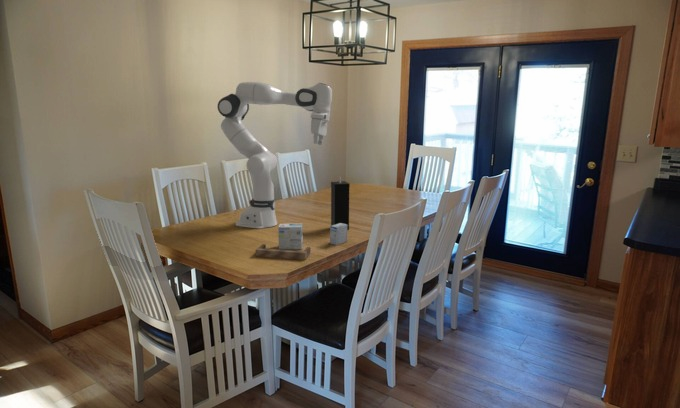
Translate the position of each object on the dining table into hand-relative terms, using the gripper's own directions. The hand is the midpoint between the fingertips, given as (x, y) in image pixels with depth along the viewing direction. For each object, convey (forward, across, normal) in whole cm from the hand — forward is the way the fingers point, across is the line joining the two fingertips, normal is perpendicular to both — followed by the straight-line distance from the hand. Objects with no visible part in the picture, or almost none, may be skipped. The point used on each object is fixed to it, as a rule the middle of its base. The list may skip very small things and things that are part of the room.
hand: (317, 144), depth 222 cm
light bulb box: (+49, +27, 0) cm, 56 cm away
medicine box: (+45, +15, +19) cm, 52 cm away
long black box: (+43, -9, +15) cm, 46 cm away
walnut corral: (+50, +38, -1) cm, 63 cm away
